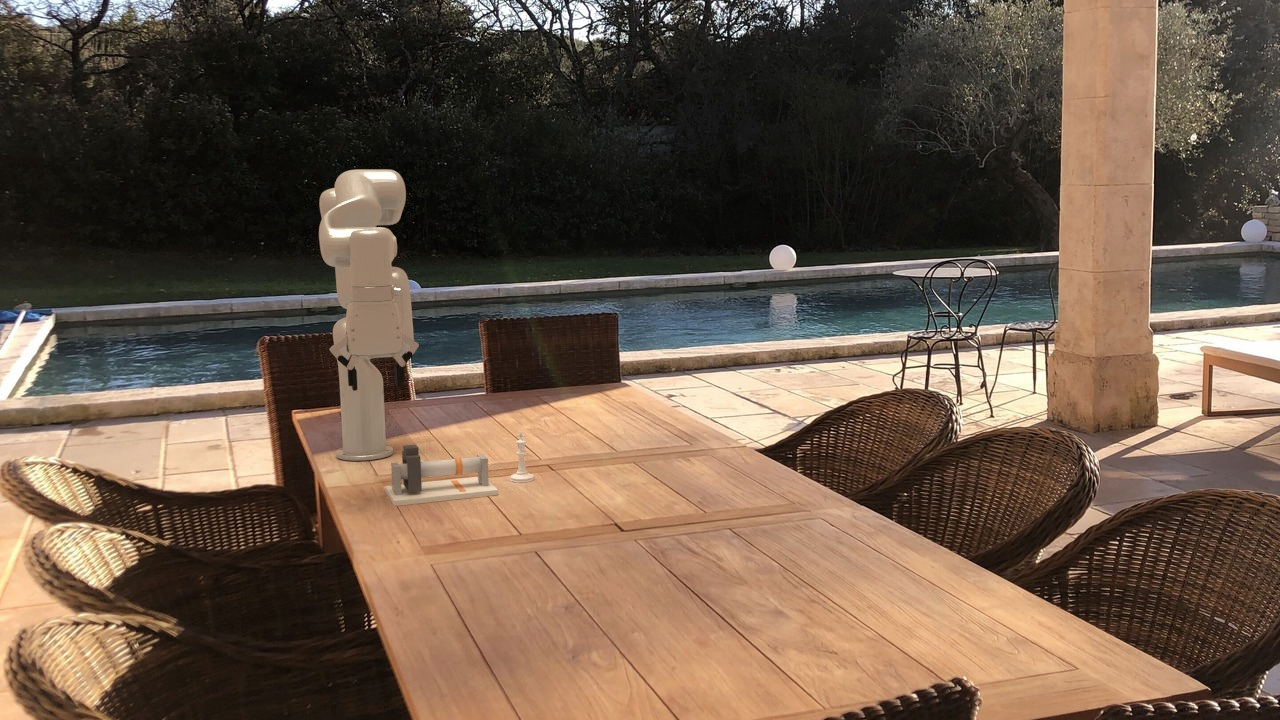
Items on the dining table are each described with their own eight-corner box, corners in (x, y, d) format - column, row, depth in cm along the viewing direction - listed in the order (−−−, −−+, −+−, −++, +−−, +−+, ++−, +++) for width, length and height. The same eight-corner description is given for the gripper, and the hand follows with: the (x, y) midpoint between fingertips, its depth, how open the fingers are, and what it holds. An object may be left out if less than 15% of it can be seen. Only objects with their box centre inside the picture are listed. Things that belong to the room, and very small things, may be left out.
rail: (394, 506, 211) (392, 471, 210) (384, 491, 222) (383, 458, 221) (498, 494, 218) (497, 461, 217) (484, 480, 229) (482, 449, 228)
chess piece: (530, 483, 227) (528, 434, 226) (506, 482, 228) (505, 433, 227) (537, 477, 232) (536, 429, 231) (514, 476, 233) (513, 429, 232)
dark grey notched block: (409, 492, 215) (407, 450, 213) (403, 484, 221) (401, 443, 220) (421, 491, 215) (420, 449, 214) (415, 483, 222) (413, 442, 220)
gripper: (415, 292, 217) (419, 382, 220) (322, 295, 211) (327, 388, 213) (422, 295, 210) (426, 387, 213) (326, 299, 204) (331, 394, 207)
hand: (376, 387), depth 213 cm, fingers open, 7 cm apart
